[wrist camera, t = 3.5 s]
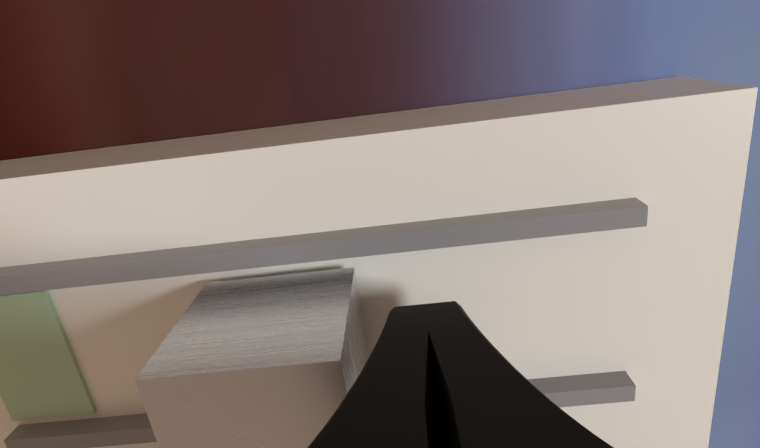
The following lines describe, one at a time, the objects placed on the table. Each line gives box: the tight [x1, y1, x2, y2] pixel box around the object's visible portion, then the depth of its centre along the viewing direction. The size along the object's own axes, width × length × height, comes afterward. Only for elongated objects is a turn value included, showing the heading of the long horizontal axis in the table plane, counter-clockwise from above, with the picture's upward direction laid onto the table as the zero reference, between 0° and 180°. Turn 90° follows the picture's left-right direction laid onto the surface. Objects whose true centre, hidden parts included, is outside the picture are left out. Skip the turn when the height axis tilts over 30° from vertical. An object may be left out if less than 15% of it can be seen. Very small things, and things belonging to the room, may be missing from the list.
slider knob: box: [135, 267, 369, 448], centre depth 9 cm, size 3×3×3 cm
